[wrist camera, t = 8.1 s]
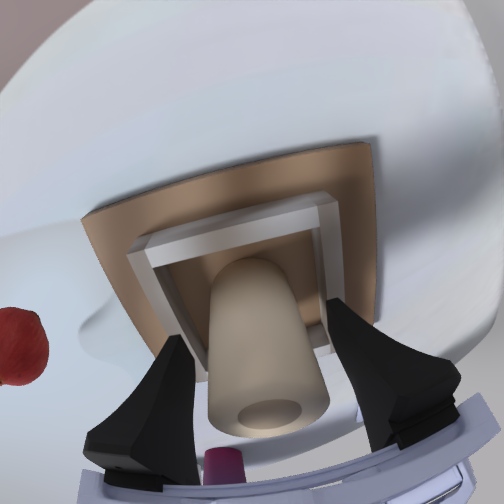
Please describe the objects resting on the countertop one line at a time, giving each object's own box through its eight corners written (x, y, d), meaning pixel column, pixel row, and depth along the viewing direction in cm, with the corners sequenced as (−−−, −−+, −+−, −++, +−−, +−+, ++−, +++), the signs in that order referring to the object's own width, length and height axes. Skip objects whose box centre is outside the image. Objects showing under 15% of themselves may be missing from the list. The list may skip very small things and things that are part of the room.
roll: (283, 249, 15) (331, 368, 8) (293, 312, 17) (329, 425, 10) (200, 268, 15) (188, 396, 8) (222, 327, 17) (226, 444, 10)
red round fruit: (59, 350, 19) (28, 420, 12) (11, 318, 17) (-28, 379, 10) (67, 311, 17) (24, 393, 10) (12, 273, 15) (-42, 340, 8)
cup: (200, 443, 28) (203, 547, 14) (253, 446, 29) (265, 545, 16) (196, 458, 30) (198, 546, 17) (242, 461, 32) (251, 545, 18)
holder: (361, 141, 13) (390, 149, 11) (367, 327, 20) (382, 353, 17) (87, 213, 14) (63, 234, 11) (173, 371, 20) (169, 401, 18)
